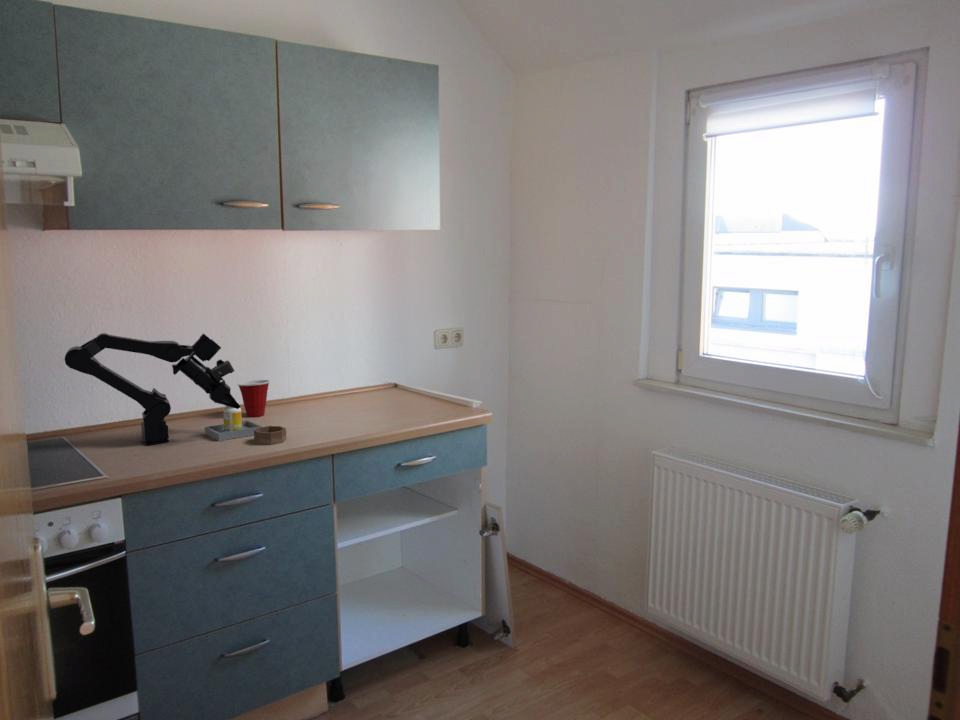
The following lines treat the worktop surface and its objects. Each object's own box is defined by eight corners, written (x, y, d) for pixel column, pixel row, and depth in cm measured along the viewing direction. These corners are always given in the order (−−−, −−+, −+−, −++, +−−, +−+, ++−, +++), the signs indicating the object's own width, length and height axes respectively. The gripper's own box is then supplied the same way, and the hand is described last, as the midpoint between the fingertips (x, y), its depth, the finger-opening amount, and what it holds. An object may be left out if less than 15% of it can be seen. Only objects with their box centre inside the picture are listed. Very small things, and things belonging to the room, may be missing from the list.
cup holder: (263, 446, 224) (262, 434, 223) (250, 440, 230) (250, 429, 230) (290, 441, 230) (289, 429, 229) (277, 435, 236) (276, 424, 235)
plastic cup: (255, 410, 271) (254, 377, 269) (278, 414, 265) (276, 380, 263) (231, 416, 261) (230, 382, 260) (254, 420, 256) (252, 385, 254)
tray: (219, 441, 229) (218, 433, 229) (205, 434, 238) (204, 426, 237) (262, 433, 238) (262, 426, 238) (247, 427, 247) (247, 420, 246)
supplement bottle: (222, 433, 235) (220, 403, 233) (226, 429, 240) (224, 399, 239) (240, 433, 235) (238, 402, 234) (243, 429, 241) (242, 399, 239)
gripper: (220, 357, 224) (260, 390, 230) (212, 348, 241) (250, 380, 247) (193, 385, 222) (234, 418, 228) (187, 375, 238) (226, 406, 245)
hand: (237, 405), depth 237 cm, fingers open, 8 cm apart
